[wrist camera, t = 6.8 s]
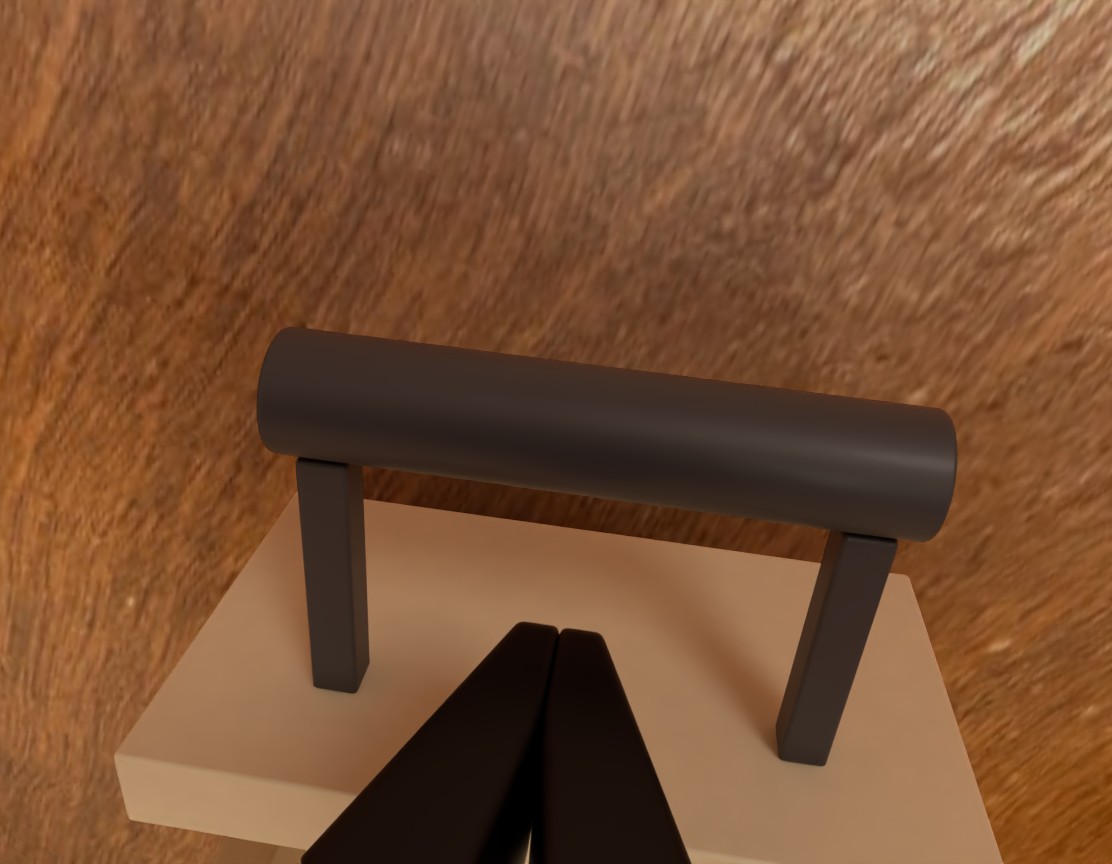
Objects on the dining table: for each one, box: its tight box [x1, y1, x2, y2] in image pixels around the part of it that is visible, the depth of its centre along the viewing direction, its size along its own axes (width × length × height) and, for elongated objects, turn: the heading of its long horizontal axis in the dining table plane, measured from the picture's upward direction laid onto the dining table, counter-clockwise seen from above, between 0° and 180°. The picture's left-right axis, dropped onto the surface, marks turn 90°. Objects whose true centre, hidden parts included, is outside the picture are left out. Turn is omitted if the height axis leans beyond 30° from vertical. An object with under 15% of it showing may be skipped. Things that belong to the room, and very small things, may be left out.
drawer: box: [114, 327, 1003, 864], centre depth 15 cm, size 17×10×6 cm, turn 176°
